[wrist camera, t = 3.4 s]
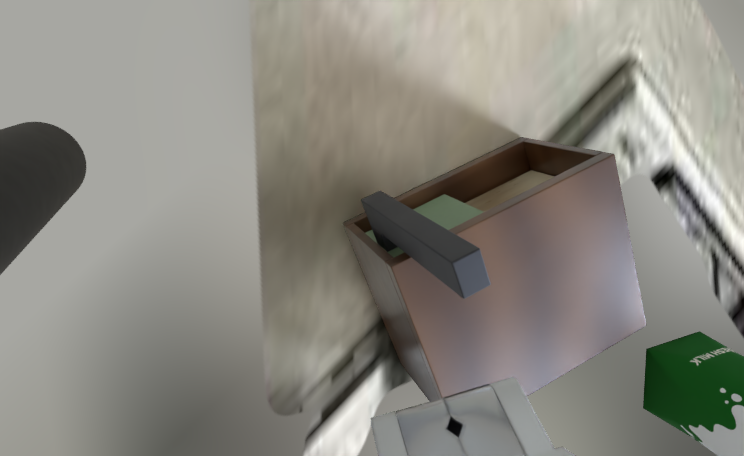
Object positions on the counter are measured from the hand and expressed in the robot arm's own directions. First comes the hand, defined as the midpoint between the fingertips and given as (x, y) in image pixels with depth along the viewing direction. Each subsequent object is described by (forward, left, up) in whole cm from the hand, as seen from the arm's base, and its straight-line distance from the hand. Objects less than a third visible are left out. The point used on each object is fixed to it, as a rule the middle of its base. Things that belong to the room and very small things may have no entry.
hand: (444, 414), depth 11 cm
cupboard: (+12, -13, -28) cm, 33 cm away
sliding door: (+8, -5, -27) cm, 29 cm away
